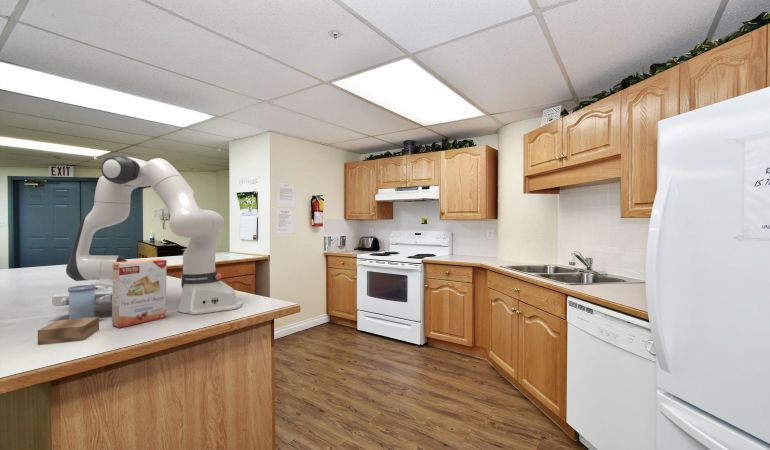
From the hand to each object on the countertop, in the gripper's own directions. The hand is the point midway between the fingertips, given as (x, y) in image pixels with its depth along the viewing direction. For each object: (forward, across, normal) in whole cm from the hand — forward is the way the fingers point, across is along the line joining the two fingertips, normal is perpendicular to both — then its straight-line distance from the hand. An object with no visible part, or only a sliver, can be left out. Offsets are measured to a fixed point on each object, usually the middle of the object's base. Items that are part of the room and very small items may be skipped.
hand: (81, 302), depth 110 cm
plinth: (+15, +4, +7) cm, 17 cm away
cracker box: (+6, +18, +7) cm, 20 cm away
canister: (0, 0, +7) cm, 7 cm away
